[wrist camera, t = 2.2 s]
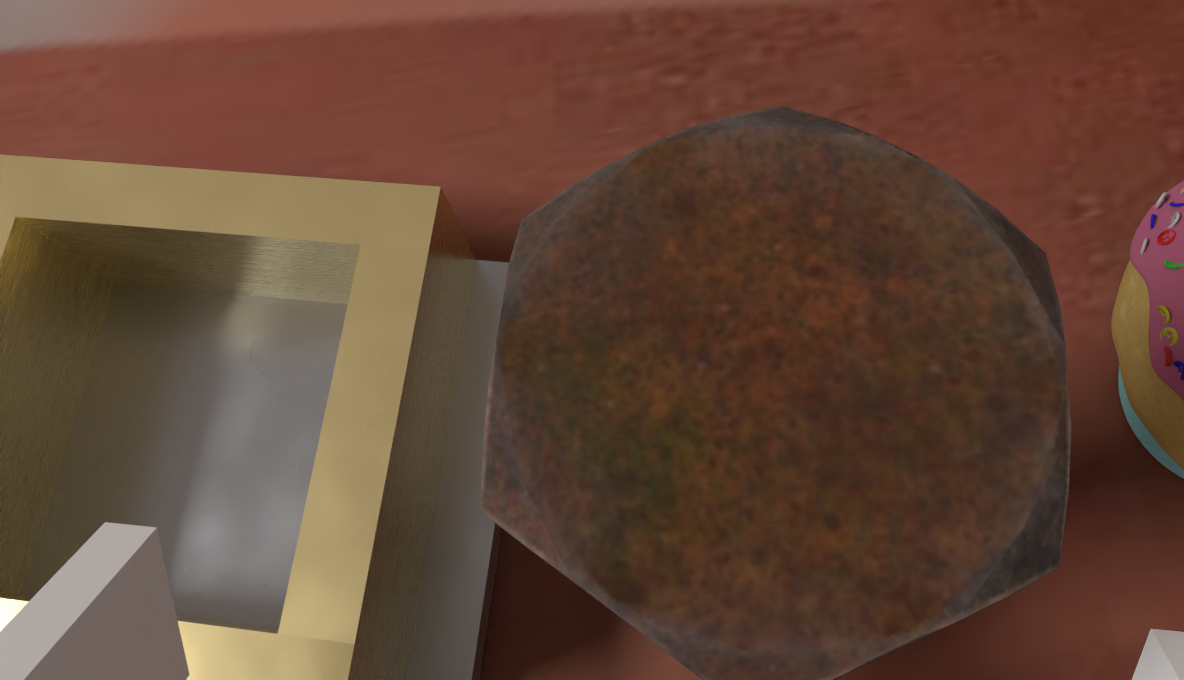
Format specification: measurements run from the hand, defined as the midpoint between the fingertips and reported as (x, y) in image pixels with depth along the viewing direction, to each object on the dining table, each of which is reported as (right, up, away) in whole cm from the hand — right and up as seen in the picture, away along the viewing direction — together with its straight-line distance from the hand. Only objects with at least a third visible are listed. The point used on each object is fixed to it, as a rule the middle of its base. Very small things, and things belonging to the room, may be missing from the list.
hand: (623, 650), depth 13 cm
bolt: (+2, -1, +10) cm, 10 cm away
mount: (-9, +1, +11) cm, 15 cm away
